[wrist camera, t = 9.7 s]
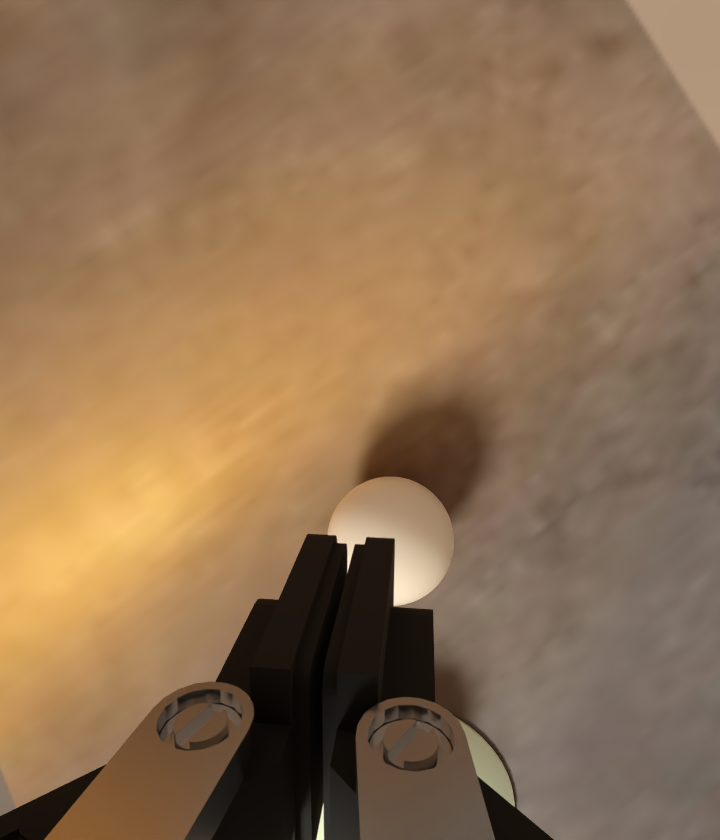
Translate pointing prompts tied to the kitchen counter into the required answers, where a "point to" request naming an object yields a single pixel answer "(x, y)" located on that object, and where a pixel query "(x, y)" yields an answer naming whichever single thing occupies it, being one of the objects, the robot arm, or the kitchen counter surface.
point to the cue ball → (399, 531)
